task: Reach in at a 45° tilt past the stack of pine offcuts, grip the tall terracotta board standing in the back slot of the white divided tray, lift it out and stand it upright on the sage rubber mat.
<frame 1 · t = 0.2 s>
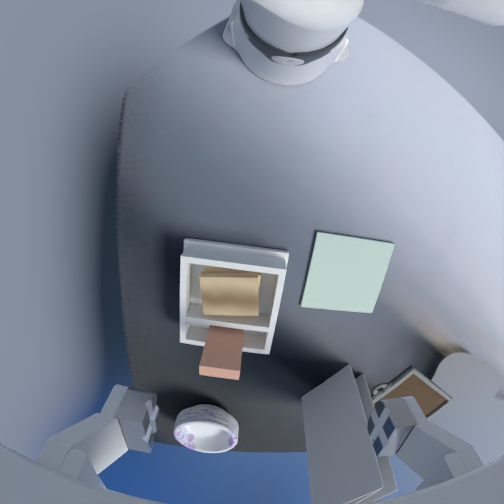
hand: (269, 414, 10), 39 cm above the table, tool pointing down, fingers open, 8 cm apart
white divided tray: (229, 306, 54), on the table
sage mat: (347, 274, 51), on the table
offcut upper: (230, 290, 49), point 3 cm above the table, touching offcut lower
brochure: (331, 385, 62), on the table
clipboard: (404, 402, 66), on the table
paper bowls: (209, 414, 67), on the table
terracotta board: (227, 322, 54), point 1 cm above the table, touching white divided tray
offcut lower: (231, 284, 51), point 1 cm above the table, touching offcut upper, white divided tray
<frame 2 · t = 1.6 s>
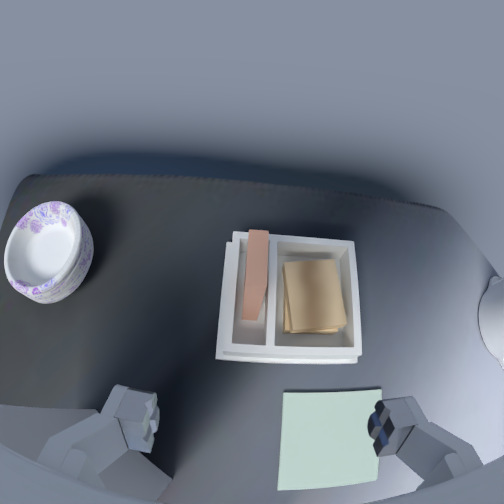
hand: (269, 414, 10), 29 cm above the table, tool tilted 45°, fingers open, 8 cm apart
white divided tray: (271, 302, 42), on the table
sage mat: (332, 440, 33), on the table
offcut upper: (311, 297, 40), point 3 cm above the table, touching offcut lower
brochure: (120, 456, 31), on the table
paper bowls: (62, 266, 43), on the table
terracotta board: (250, 298, 41), point 1 cm above the table, touching white divided tray
offcut lower: (308, 302, 41), point 1 cm above the table, touching offcut upper, white divided tray
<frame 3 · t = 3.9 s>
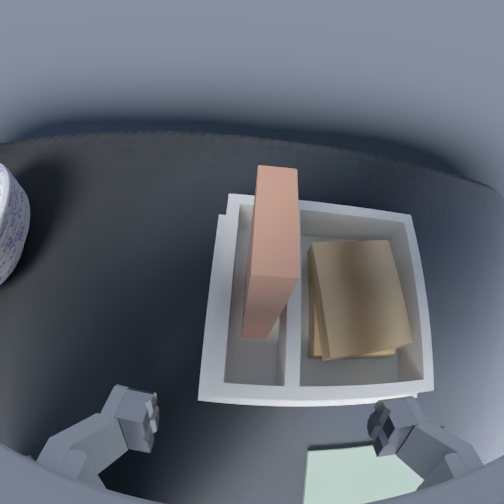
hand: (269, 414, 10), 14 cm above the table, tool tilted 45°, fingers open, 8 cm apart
white divided tray: (289, 308, 26), on the table
offcut upper: (355, 301, 24), point 3 cm above the table, touching offcut lower
terracotta board: (255, 303, 25), point 1 cm above the table, touching white divided tray
offcut lower: (346, 308, 25), point 1 cm above the table, touching offcut upper, white divided tray
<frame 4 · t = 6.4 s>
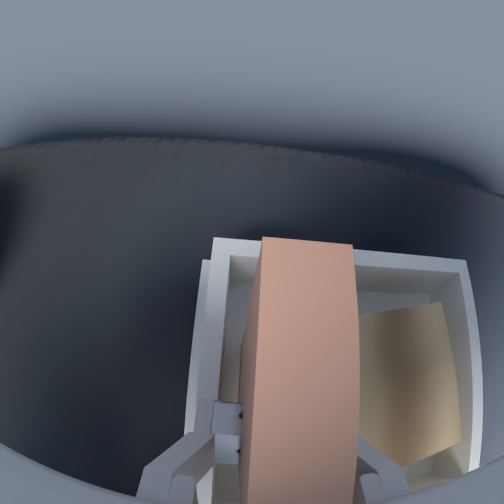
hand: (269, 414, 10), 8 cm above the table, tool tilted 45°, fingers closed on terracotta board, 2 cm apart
white divided tray: (301, 394, 18), on the table
offcut upper: (392, 389, 15), point 3 cm above the table, touching offcut lower
terracotta board: (255, 393, 17), point 1 cm above the table, touching gripper, white divided tray
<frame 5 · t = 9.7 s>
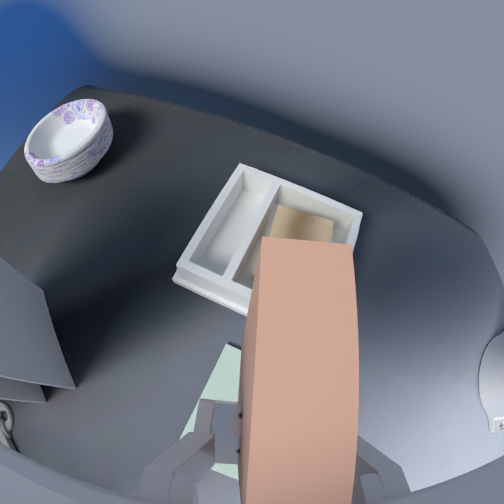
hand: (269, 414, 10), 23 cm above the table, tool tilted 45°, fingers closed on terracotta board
white divided tray: (254, 247, 39), on the table
sage mat: (258, 424, 29), on the table
offcut upper: (295, 252, 35), point 3 cm above the table, touching offcut lower
brochure: (42, 345, 30), on the table
paper bowls: (78, 160, 44), on the table
terracotta board: (255, 393, 17), point 16 cm above the table, touching gripper
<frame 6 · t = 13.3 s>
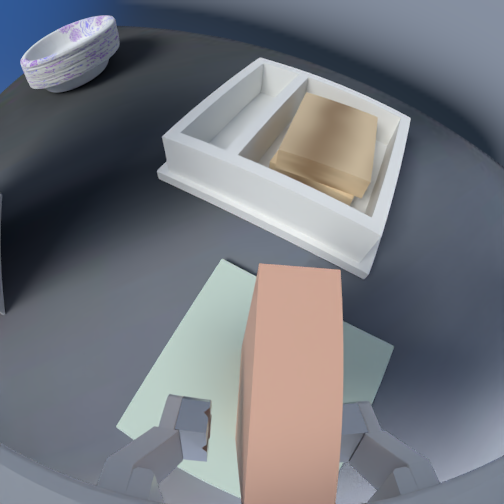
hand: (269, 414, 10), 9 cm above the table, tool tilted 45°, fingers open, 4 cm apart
white divided tray: (273, 148, 28), on the table
sage mat: (262, 396, 18), on the table
offcut upper: (329, 147, 24), point 3 cm above the table, touching offcut lower
paper bowls: (77, 77, 35), on the table
terracotta board: (254, 394, 17), point 1 cm above the table, touching sage mat
offcut lower: (323, 162, 26), point 1 cm above the table, touching offcut upper, white divided tray
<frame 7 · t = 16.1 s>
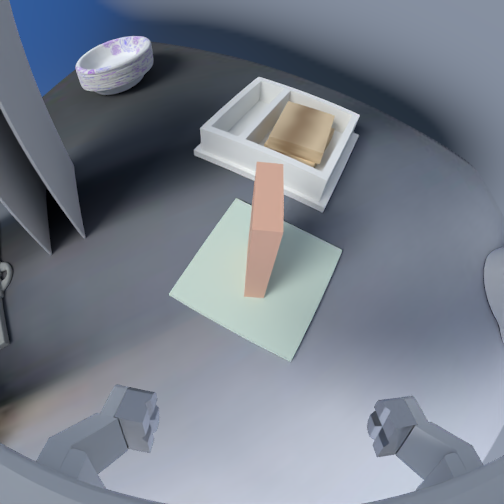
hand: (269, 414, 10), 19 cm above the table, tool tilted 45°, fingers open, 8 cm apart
white divided tray: (267, 137, 43), on the table
sage mat: (260, 273, 33), on the table
offcut upper: (301, 135, 39), point 3 cm above the table, touching offcut lower
brochure: (62, 206, 35), on the table
paper bowls: (119, 83, 50), on the table
terracotta board: (255, 270, 32), resting on sage mat
offcut lower: (299, 145, 41), point 1 cm above the table, touching offcut upper, white divided tray
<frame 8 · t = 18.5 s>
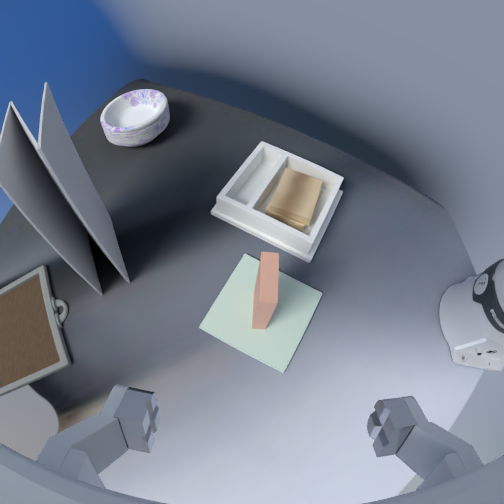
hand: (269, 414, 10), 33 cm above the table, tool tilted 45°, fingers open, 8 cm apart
white divided tray: (268, 197, 56), on the table
sage mat: (263, 311, 46), on the table
offcut upper: (295, 199, 52), point 3 cm above the table, touching offcut lower
brochure: (105, 254, 48), on the table
clipboard: (11, 338, 40), on the table
paper bowls: (139, 134, 63), on the table
terracotta board: (259, 309, 45), resting on sage mat
offcut lower: (293, 205, 54), point 1 cm above the table, touching offcut upper, white divided tray
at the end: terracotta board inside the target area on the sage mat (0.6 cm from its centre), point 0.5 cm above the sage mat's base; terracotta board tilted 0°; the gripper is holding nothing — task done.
